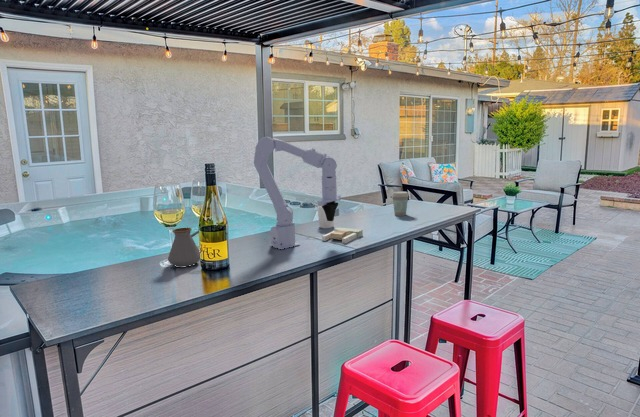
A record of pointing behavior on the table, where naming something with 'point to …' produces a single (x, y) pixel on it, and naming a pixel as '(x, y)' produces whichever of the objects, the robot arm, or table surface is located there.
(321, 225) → the white cup
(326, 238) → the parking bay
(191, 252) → the coffee pot
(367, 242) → the table surface
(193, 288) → the table surface
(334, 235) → the tan block
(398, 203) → the coffee cup
